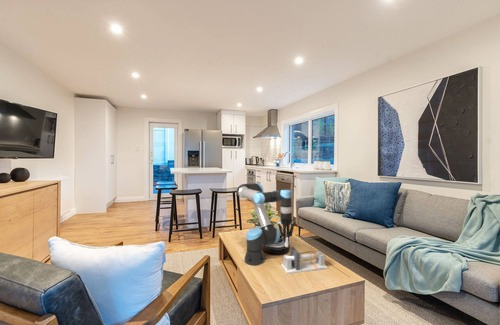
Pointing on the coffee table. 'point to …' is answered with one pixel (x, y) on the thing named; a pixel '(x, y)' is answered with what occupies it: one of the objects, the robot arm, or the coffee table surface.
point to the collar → (295, 257)
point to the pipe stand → (305, 263)
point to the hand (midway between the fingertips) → (286, 246)
